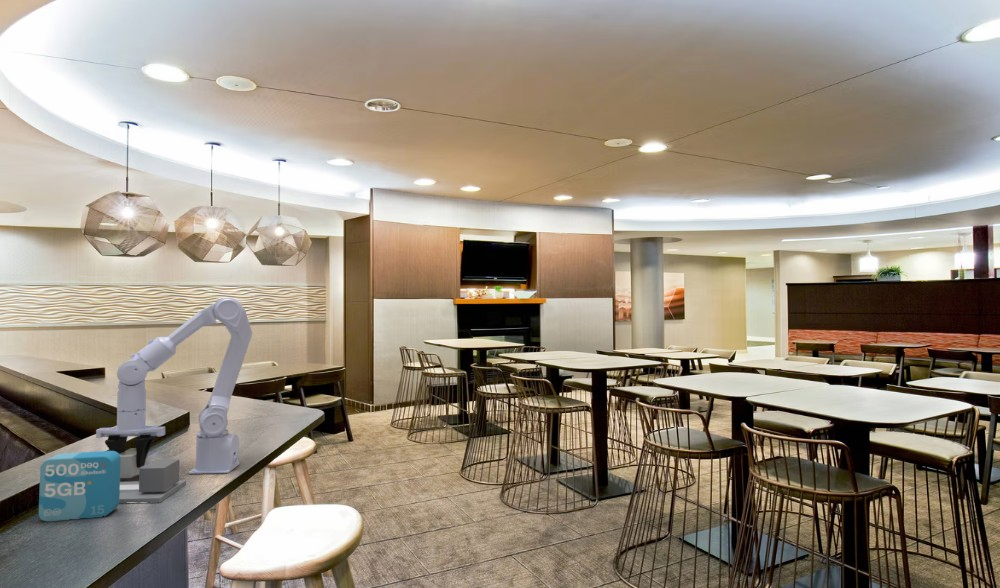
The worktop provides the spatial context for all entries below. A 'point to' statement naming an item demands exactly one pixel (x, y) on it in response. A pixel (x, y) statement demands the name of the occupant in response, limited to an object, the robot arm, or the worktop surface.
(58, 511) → the data package
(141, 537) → the worktop surface
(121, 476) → the module
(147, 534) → the worktop surface
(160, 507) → the worktop surface
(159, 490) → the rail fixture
